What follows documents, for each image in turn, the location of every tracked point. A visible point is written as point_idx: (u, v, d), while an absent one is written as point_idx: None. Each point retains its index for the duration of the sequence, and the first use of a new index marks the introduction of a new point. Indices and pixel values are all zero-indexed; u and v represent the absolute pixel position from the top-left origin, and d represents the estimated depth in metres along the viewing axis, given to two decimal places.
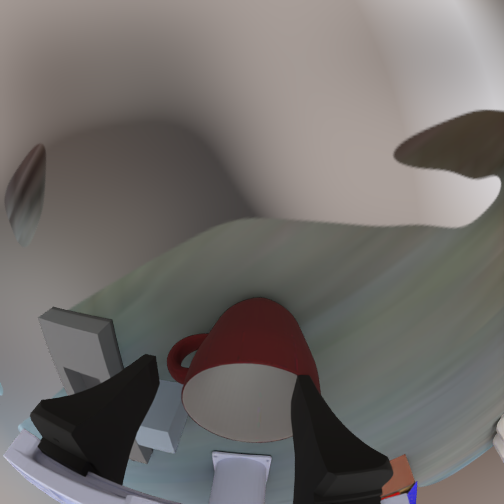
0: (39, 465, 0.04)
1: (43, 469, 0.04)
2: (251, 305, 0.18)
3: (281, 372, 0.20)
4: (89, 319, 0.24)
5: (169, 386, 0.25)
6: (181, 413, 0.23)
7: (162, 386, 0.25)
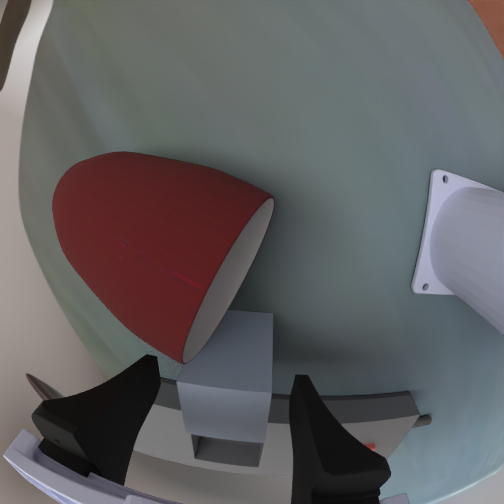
0: (39, 465, 0.04)
1: (43, 469, 0.04)
2: (72, 261, 0.10)
3: None
4: None
5: None
6: (228, 336, 0.14)
7: None
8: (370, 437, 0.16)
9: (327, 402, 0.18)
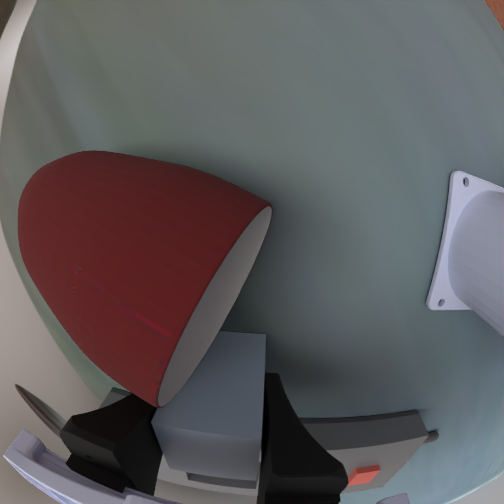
0: (39, 465, 0.04)
1: (43, 469, 0.04)
2: (34, 282, 0.07)
3: None
4: None
5: None
6: (214, 364, 0.12)
7: None
8: (375, 460, 0.14)
9: (330, 426, 0.15)
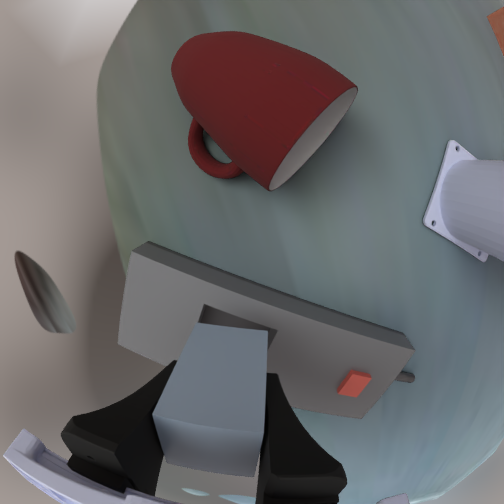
0: (39, 465, 0.04)
1: (43, 469, 0.04)
2: (199, 79, 0.12)
3: None
4: None
5: None
6: (216, 359, 0.12)
7: None
8: (369, 364, 0.19)
9: (336, 314, 0.21)
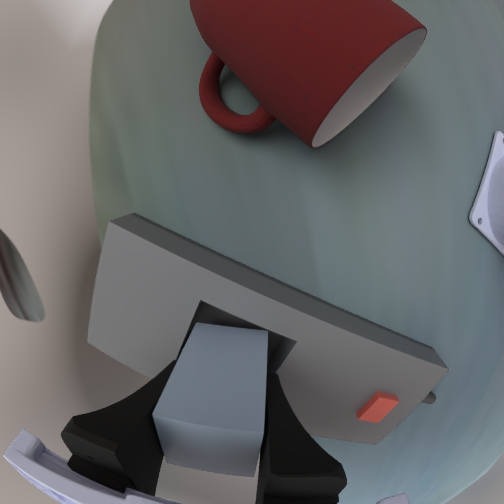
0: (39, 465, 0.04)
1: (43, 469, 0.04)
2: None
3: None
4: None
5: None
6: (216, 358, 0.12)
7: None
8: (398, 385, 0.15)
9: (366, 323, 0.16)
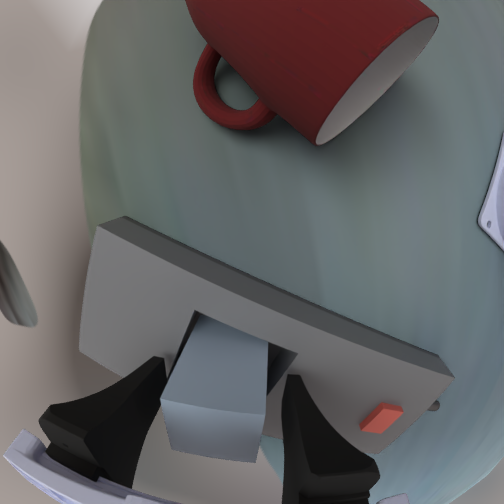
0: (39, 465, 0.04)
1: (43, 469, 0.04)
2: None
3: None
4: None
5: None
6: (219, 348, 0.13)
7: None
8: (403, 395, 0.14)
9: (371, 332, 0.15)
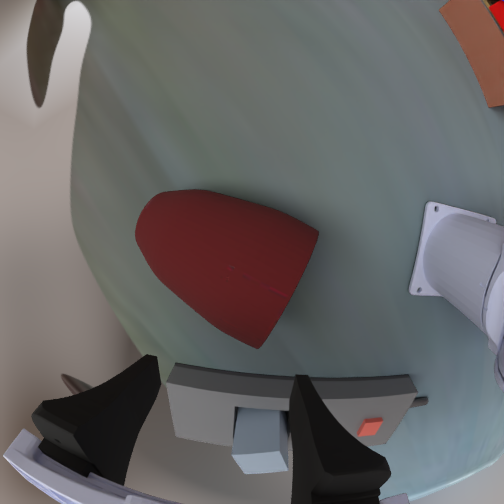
0: (39, 465, 0.04)
1: (43, 469, 0.04)
2: (168, 277, 0.15)
3: None
4: None
5: None
6: (254, 419, 0.21)
7: None
8: (379, 412, 0.21)
9: (344, 382, 0.23)
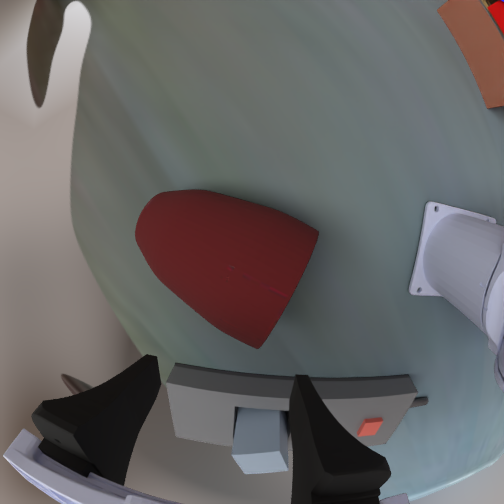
0: (39, 465, 0.04)
1: (43, 469, 0.04)
2: (168, 277, 0.15)
3: None
4: None
5: None
6: (254, 419, 0.21)
7: None
8: (379, 412, 0.21)
9: (344, 382, 0.23)
